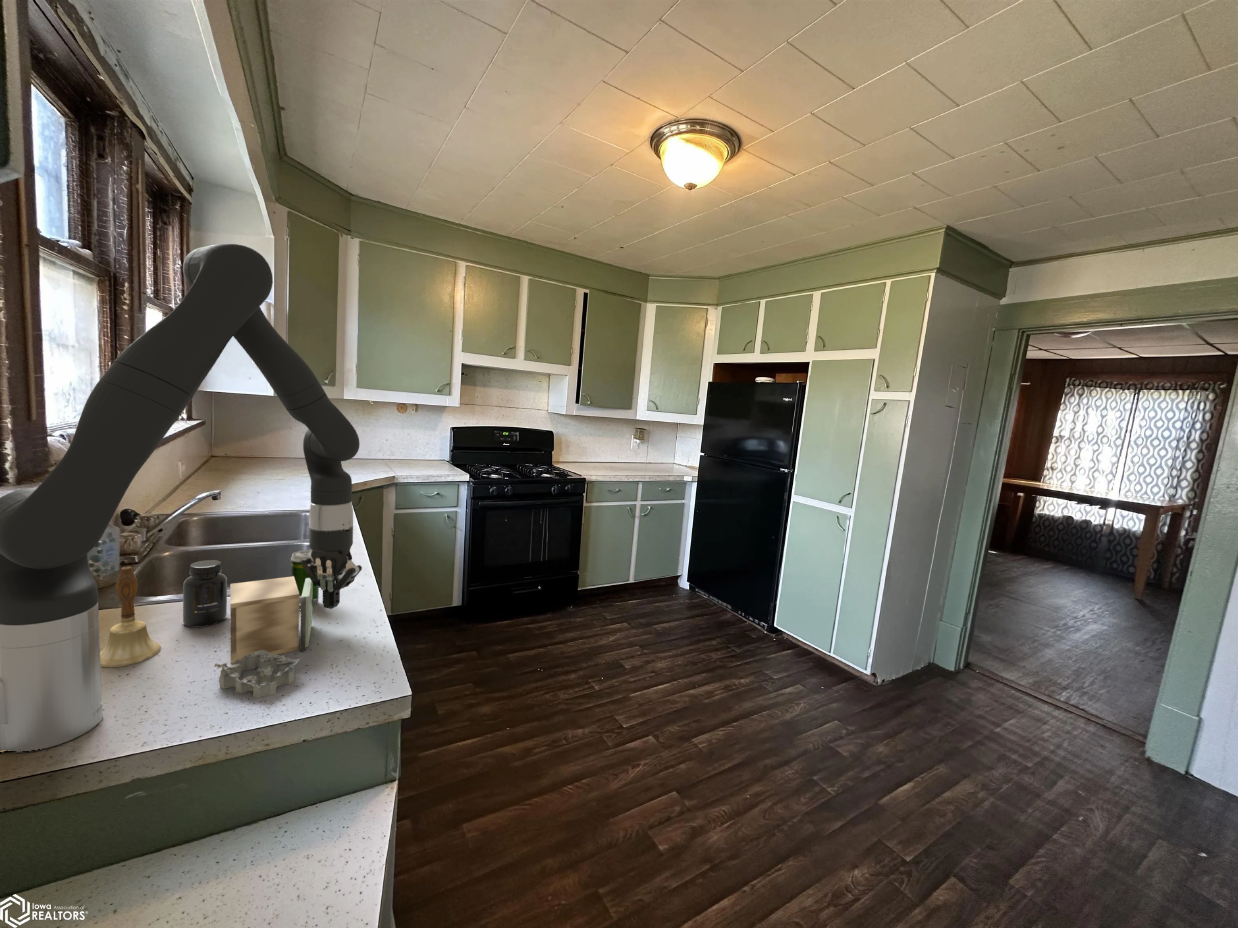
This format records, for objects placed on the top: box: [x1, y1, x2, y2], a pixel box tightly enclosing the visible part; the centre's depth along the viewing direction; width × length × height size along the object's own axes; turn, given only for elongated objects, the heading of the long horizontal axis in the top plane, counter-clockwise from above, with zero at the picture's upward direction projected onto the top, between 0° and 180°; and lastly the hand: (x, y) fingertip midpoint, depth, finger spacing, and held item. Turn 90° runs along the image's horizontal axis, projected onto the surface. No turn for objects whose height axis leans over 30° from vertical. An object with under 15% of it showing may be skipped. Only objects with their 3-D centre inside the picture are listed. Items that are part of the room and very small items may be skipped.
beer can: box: [290, 549, 320, 609], centre depth 110 cm, size 5×5×12 cm
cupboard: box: [229, 576, 306, 665], centre depth 92 cm, size 11×11×11 cm
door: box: [301, 578, 319, 648], centre depth 97 cm, size 2×10×10 cm, turn 28°
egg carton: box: [214, 650, 301, 699], centre depth 82 cm, size 11×8×4 cm
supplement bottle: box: [182, 559, 228, 628], centre depth 99 cm, size 7×7×12 cm
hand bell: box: [100, 566, 162, 668], centre depth 85 cm, size 8×8×16 cm
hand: (331, 606), depth 100 cm, fingers closed
